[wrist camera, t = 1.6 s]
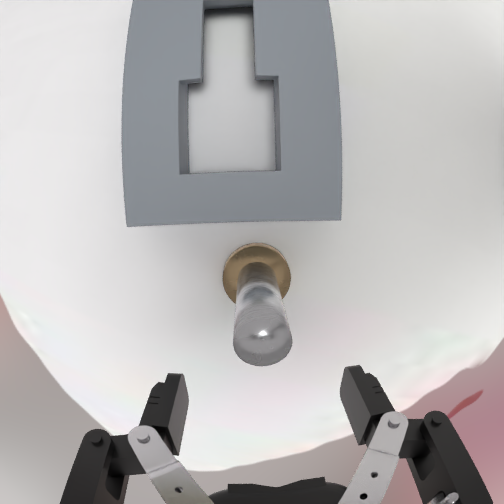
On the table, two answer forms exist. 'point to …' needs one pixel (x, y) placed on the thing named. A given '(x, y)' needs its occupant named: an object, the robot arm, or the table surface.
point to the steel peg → (259, 303)
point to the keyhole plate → (176, 116)
